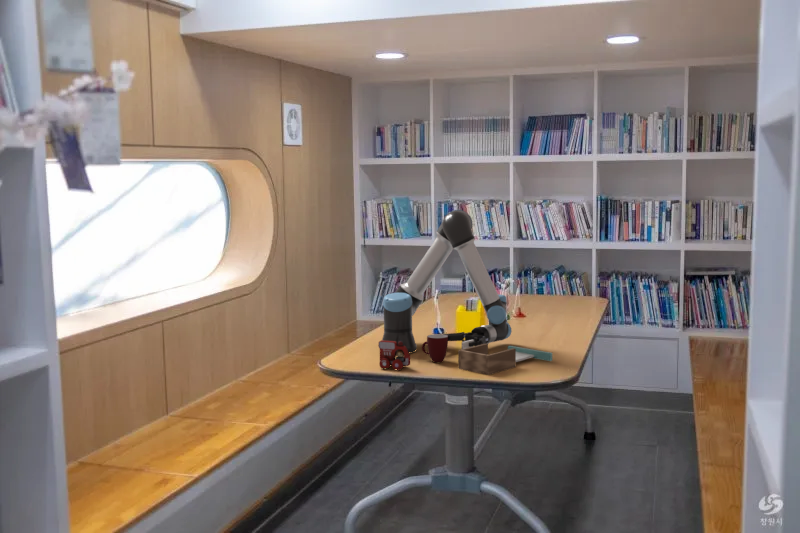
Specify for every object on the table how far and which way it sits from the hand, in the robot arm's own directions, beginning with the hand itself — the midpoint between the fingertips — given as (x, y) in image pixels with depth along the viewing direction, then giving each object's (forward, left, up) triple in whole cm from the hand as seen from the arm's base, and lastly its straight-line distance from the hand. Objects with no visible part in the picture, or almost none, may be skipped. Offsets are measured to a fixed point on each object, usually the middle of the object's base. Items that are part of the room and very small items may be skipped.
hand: (449, 343), depth 315 cm
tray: (+24, +12, -5) cm, 28 cm away
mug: (0, -8, -6) cm, 10 cm away
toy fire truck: (-4, -26, -6) cm, 27 cm away
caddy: (+22, -3, -6) cm, 23 cm away
